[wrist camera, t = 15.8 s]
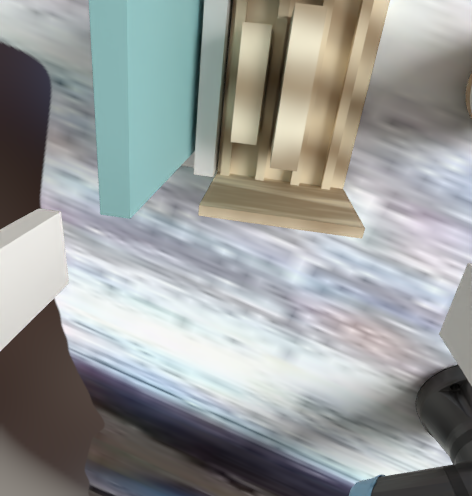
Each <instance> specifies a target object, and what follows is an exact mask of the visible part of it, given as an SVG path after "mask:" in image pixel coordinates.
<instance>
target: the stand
mask: <svg viewBox="0 0 472 496" xmlns="http://www.w3.org/2000/svg"><path fill="white" fill-rule="evenodd" d="M232 4H233V0H204V12H203V28H202V45H201V61H200V77H199V93H198V109H197V125H196V141H195V151H194V152H193V153H192V154H191V155H190V157H189V158H188V159H187V160H186V161H185V162H184V163H183V164H182V165H181V166H187V167H194V175H201V176H208V177H213V176H214V174H215V172H216V170H217V169H218V158H219V147H220V136H221V125H222V114H223V103H224V92H225V81H226V70H227V59H228V48H229V37H230V26H231V15H232Z"/></svg>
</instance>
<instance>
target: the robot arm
mask: <svg viewBox="0 0 472 496" xmlns="http://www.w3.org/2000/svg"><path fill="white" fill-rule="evenodd" d="M68 284H69V278H68V270H67V261H66V252H65V243H64V235H63V226H62V217H61V211H53V210H45V209H37V210H35V211H33V212H32V213H30V214H28V215H26V216H24V217H22V218H21V219H19V220H17V221H15V222H13V223H12V224H10V225H8V226H6V227H4V228H2V229H1V230H0V351H1V350H2V349H3V348H4V347H5V346H6V345H7V344H8V343H9V342H10V341H11V340H12V339H13V338H14V337H15V336H16V335H17V334H18V333H19V332H20V331H21V330H22V329H23V328H24V327H25V326H26V325H27V324H28V323H29V322H30V321H31V320H32V319H33V318H34V317H35V316H36V315H37V314H38V313H39V312H40V311H41V310H42V309H43V308H44V307H45V306H47V305H48V303H50V302H51V301H52V299H54V298H55V297H56V296H57V295H58V294H59V293H60V292H61V291H62V290H63V289H64V288H65V287H66V286H67V285H68ZM439 335H440V336H441V338H442V339H443V341H444V343H445V344H446V346H447V347H448V349H449V351H450V352H451V354H452V355H453V357H454V359H455V360H456V362H457V363H458V365H459V366H455V367H452V368H449V369H446V370H444V371H442V372H440V373H438V374H436V375H435V376H433V377H432V378H430V379H429V380H428V381H427V382H426V383H425V384H424V385H423V386H422V388H421V389H420V391H419V393H418V395H417V398H416V410H417V413H418V415H419V418H420V420H421V422H422V424H423V426H424V428H425V429H426V430H427V432H428V433H429V434H430V435H431V436H432V437H434V438H435V439H436V441H437V442H438V443H439V444H440V446H441V447H442V448H443V449H444V451H445V452H446V453H447V454H448V455H449V457H450V459H451V461H452V463H453V465H448V466H442V467H437V468H431V469H425V470H419V471H413V472H407V473H401V474H395V475H389V476H385V475H378V476H376V477H375V478H372V479H367V480H362V481H359V482H357V483H356V484H355V485H354V486H353V487H352V488H351V491H350V494H349V496H472V263H468V264H467V267H466V269H465V272H464V274H463V277H462V279H461V282H460V284H459V286H458V289H457V291H456V294H455V296H454V299H453V301H452V304H451V306H450V309H449V311H448V314H447V316H446V319H445V321H444V323H443V326H442V328H441V331H440V333H439Z"/></svg>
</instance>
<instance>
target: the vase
mask: <svg viewBox="0 0 472 496" xmlns="http://www.w3.org/2000/svg"><path fill="white" fill-rule="evenodd" d="M466 106H467V110H468V113H469V116H470V117H471V119H472V72H471V75H470V77H469V80H468V83H467V87H466Z"/></svg>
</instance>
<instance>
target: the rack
mask: <svg viewBox="0 0 472 496" xmlns="http://www.w3.org/2000/svg"><path fill="white" fill-rule="evenodd" d="M389 2H390V0H233V7H232V18H231V29H230V40H229V51H228V62H227V73H226V84H225V95H224V106H223V117H222V128H221V139H220V150H219V161H218V172H217V174H216V175H215V177H214V179H213V181H212V183H211V185H210V186H209V188H208V190H207V192H206V194H205V195H204V197H203V199H202V201H201V203H200V205H199V214H198V215H199V216H206V217H213V218H220V219H227V220H234V221H241V222H249V223H256V224H263V225H270V226H277V227H284V228H291V229H298V230H305V231H313V232H320V233H327V234H334V235H341V236H348V237H355V238H362V237H363V233H364V230H365V228H364V226H363V224H362V222H361V220H360V219H359V217H358V215H357V213H356V211H355V210H354V208H353V206H352V204H351V202H350V201H349V199H348V197H347V195H346V193H345V192H344V190H343V186H344V182H345V178H346V174H347V170H348V166H349V162H350V158H351V154H352V150H353V146H354V142H355V138H356V134H357V130H358V126H359V122H360V118H361V114H362V110H363V106H364V102H365V98H366V94H367V90H368V86H369V82H370V78H371V74H372V70H373V66H374V62H375V58H376V54H377V50H378V46H379V42H380V38H381V34H382V30H383V26H384V22H385V18H386V14H387V10H388V6H389ZM295 3H302V4H310V5H318V6H327V7H328V8H327V13H326V19H325V24H324V29H323V35H322V40H321V45H320V51H319V56H318V61H317V66H316V72H315V77H314V82H313V88H312V93H311V98H310V104H309V109H308V114H307V120H306V125H305V130H304V136H303V141H302V146H301V152H300V157H299V162H298V168H297V171H290V170H282V169H275V168H270V159H271V145H272V139H273V132H274V126H275V119H276V112H277V106H278V99H279V93H280V86H281V80H282V73H283V67H284V60H285V53H286V47H287V40H288V34H289V27H290V21H291V15H292V12H293V9H294V6H295ZM243 22H250V23H258V24H266V25H272V29H273V34H272V41H271V48H270V56H269V63H268V71H267V78H266V85H265V93H264V100H263V108H262V115H261V122H260V130H259V136H258V140H257V144H256V145H251V144H243V143H236V142H231V132H232V122H233V113H234V103H235V93H236V84H237V74H238V64H239V55H240V45H241V35H242V25H243Z"/></svg>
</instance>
